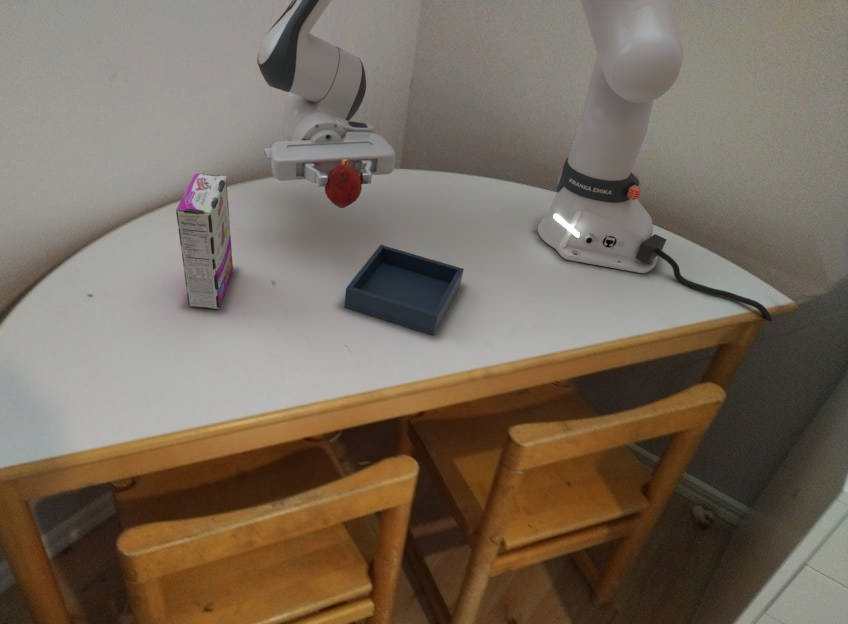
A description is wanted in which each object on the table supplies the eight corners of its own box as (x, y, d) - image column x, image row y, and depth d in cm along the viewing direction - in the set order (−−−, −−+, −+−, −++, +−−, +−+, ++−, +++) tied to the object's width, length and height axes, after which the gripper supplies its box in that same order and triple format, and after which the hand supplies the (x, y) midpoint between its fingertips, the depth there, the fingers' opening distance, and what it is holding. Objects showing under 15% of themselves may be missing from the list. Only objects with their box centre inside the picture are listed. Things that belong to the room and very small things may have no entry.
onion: (355, 219, 100) (358, 171, 94) (319, 212, 100) (321, 164, 95) (363, 202, 104) (367, 155, 99) (328, 196, 105) (331, 149, 99)
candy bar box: (202, 267, 103) (193, 171, 93) (233, 270, 104) (228, 175, 93) (186, 308, 95) (174, 208, 84) (219, 311, 95) (212, 212, 84)
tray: (459, 286, 106) (463, 268, 104) (433, 335, 96) (437, 316, 93) (378, 262, 109) (380, 244, 107) (344, 307, 99) (345, 288, 96)
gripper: (261, 128, 103) (278, 165, 93) (380, 123, 109) (409, 158, 99) (261, 165, 107) (279, 204, 97) (377, 158, 113) (404, 195, 103)
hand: (345, 181), depth 98 cm, fingers closed on onion, 6 cm apart
